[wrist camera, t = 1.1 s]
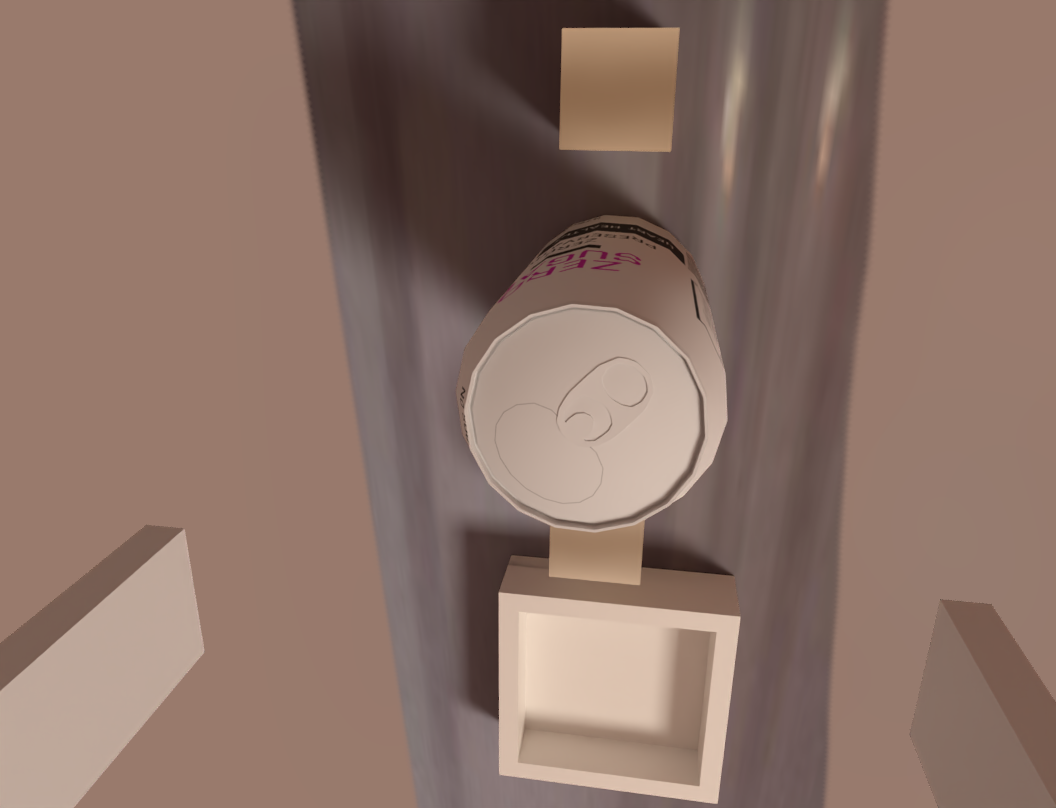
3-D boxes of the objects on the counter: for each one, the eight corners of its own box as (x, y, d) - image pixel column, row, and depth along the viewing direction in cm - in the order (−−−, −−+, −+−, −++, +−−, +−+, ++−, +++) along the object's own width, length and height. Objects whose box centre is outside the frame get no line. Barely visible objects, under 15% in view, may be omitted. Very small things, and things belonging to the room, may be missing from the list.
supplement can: (614, 421, 38) (586, 597, 25) (490, 302, 37) (388, 417, 24) (743, 305, 36) (795, 431, 22) (613, 173, 35) (580, 216, 21)
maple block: (578, 41, 33) (561, 27, 27) (676, 41, 32) (679, 27, 27) (575, 143, 34) (559, 149, 29) (669, 144, 34) (671, 151, 28)
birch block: (566, 440, 39) (550, 495, 34) (648, 446, 39) (645, 503, 33) (564, 512, 41) (548, 576, 35) (643, 519, 40) (640, 585, 35)
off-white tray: (511, 555, 42) (498, 592, 39) (734, 575, 40) (740, 616, 37) (510, 727, 46) (499, 774, 43) (713, 753, 44) (717, 803, 41)
